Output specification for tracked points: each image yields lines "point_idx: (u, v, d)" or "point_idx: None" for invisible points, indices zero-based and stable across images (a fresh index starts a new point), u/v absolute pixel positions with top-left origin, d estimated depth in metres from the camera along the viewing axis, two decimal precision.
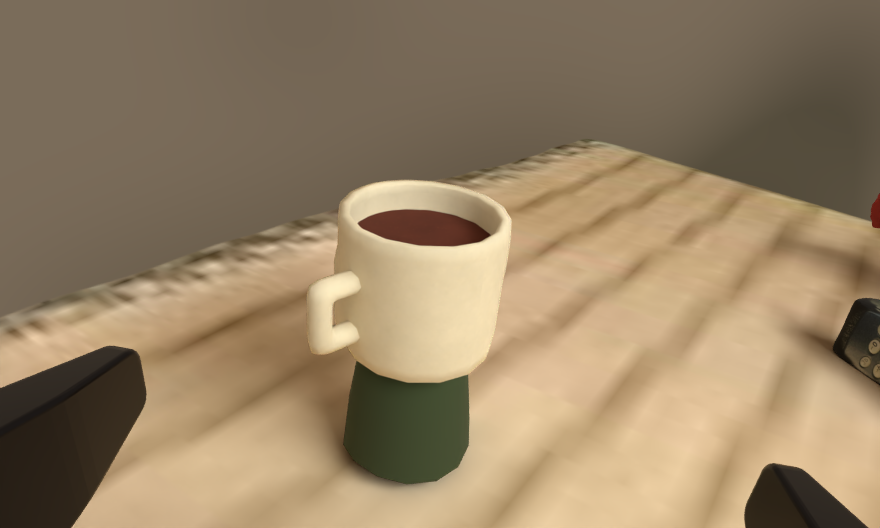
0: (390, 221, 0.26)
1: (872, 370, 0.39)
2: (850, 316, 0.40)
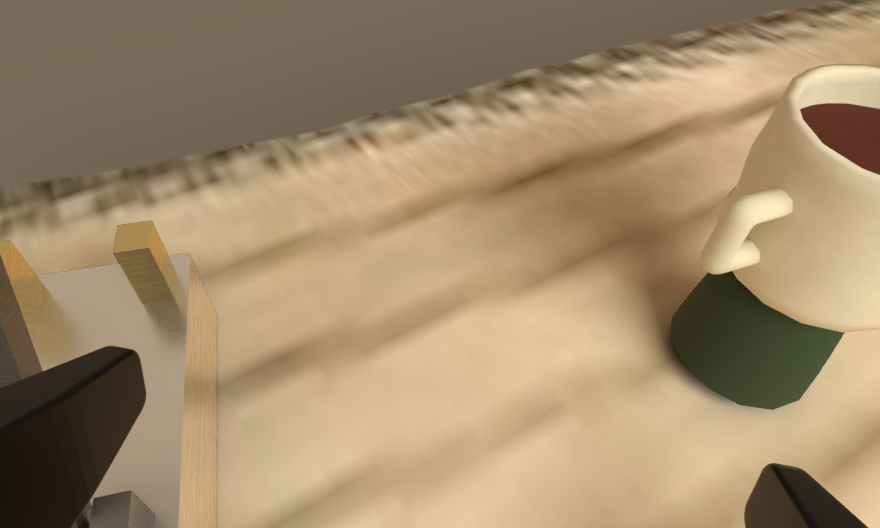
0: (830, 121, 0.20)
1: None
2: None
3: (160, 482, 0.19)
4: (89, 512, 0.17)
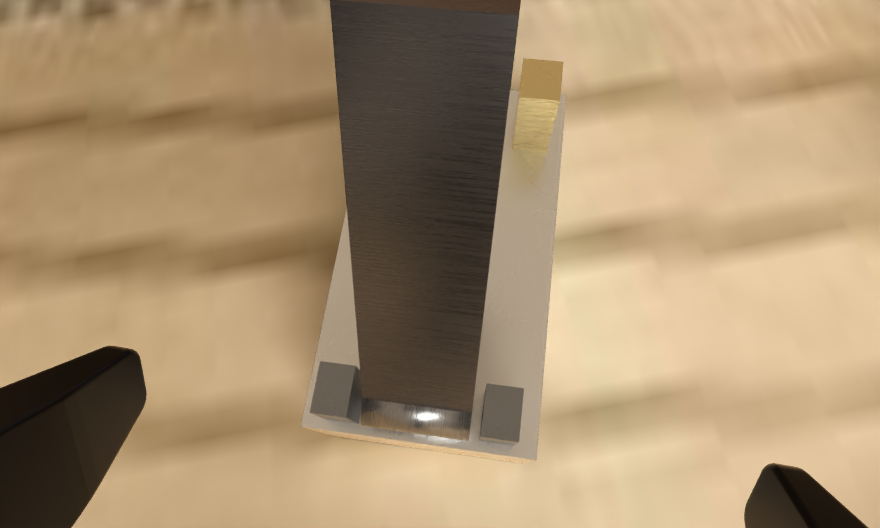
0: None
1: None
2: None
3: (524, 365, 0.18)
4: None
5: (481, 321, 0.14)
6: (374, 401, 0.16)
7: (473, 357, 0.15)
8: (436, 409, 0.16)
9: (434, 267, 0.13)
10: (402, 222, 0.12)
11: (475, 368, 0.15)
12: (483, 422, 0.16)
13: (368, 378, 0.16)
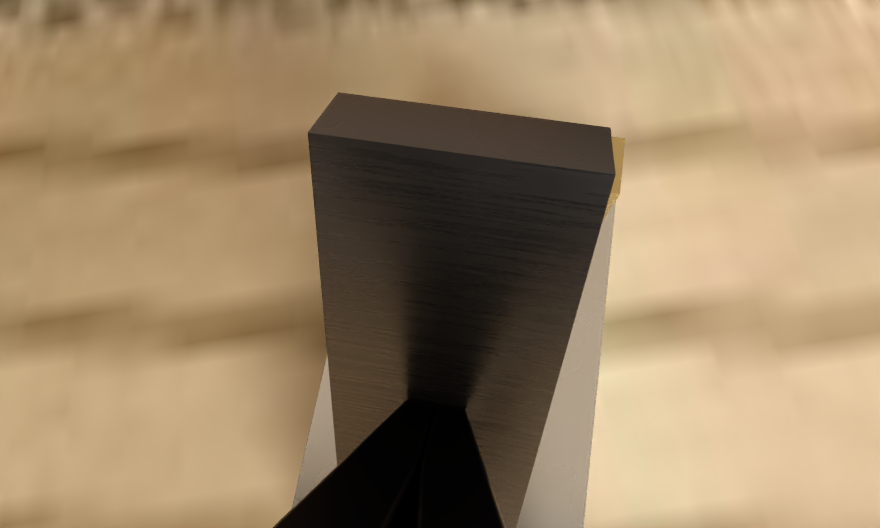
0: None
1: None
2: None
3: None
4: None
5: None
6: None
7: None
8: None
9: None
10: None
11: None
12: None
13: None
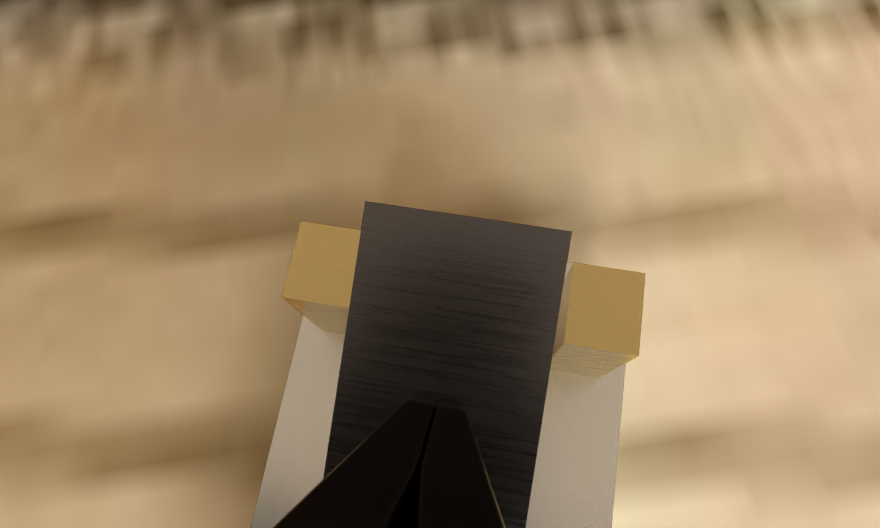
0: None
1: None
2: None
3: None
4: None
5: None
6: None
7: None
8: None
9: None
10: None
11: None
12: None
13: None
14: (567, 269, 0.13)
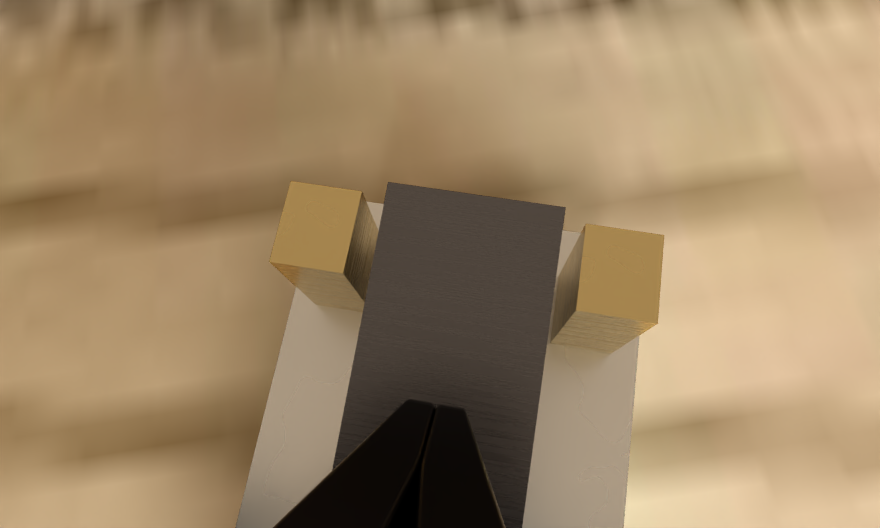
0: None
1: None
2: None
3: None
4: None
5: None
6: None
7: None
8: None
9: None
10: None
11: None
12: None
13: None
14: (576, 239, 0.12)
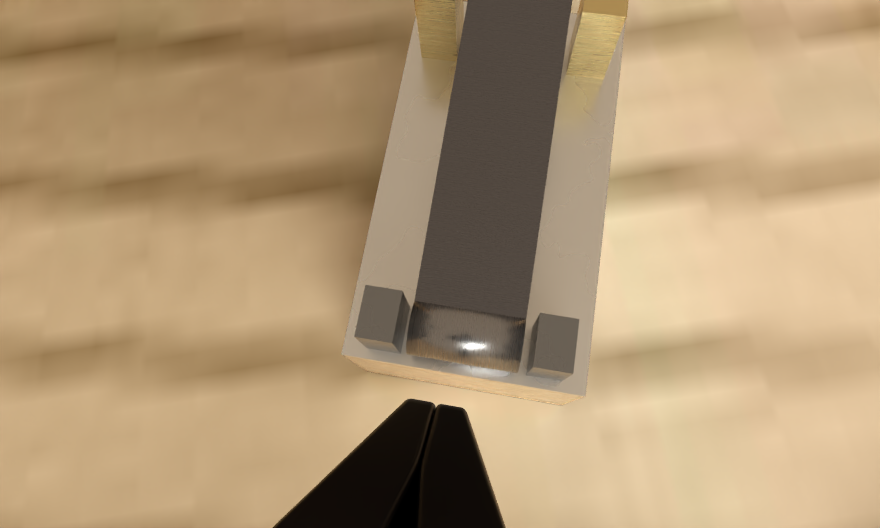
0: None
1: None
2: None
3: (574, 300, 0.17)
4: None
5: (543, 190, 0.16)
6: (426, 304, 0.16)
7: (533, 234, 0.16)
8: (490, 312, 0.16)
9: (510, 134, 0.17)
10: (491, 95, 0.17)
11: (534, 250, 0.16)
12: (536, 352, 0.15)
13: (427, 269, 0.16)
14: None
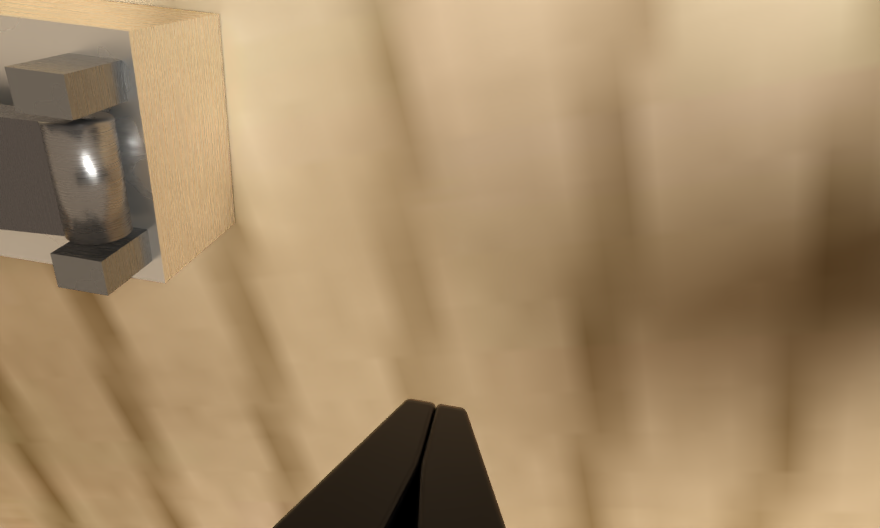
0: None
1: None
2: None
3: (31, 44, 0.15)
4: None
5: None
6: (62, 224, 0.15)
7: None
8: (45, 160, 0.14)
9: None
10: None
11: None
12: (56, 117, 0.13)
13: (28, 225, 0.15)
14: None
